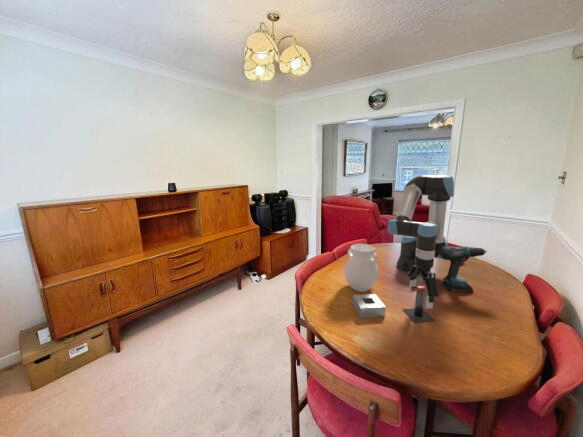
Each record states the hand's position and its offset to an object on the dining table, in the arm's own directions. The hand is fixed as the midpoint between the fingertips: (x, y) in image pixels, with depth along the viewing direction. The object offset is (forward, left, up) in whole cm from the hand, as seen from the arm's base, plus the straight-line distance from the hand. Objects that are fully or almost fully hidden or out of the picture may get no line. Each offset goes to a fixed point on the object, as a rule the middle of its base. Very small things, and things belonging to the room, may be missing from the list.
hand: (420, 299), depth 117 cm
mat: (0, 0, -8) cm, 8 cm away
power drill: (-22, +37, -8) cm, 44 cm away
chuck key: (0, 0, -8) cm, 8 cm away
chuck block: (-7, -22, -8) cm, 25 cm away
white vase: (-29, -18, -8) cm, 35 cm away
